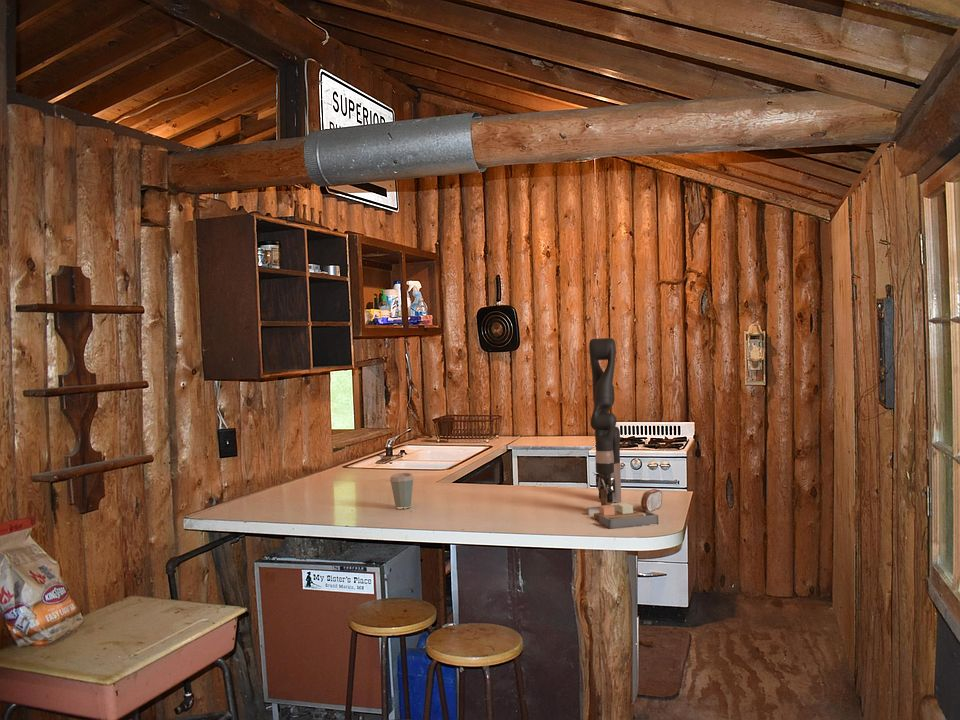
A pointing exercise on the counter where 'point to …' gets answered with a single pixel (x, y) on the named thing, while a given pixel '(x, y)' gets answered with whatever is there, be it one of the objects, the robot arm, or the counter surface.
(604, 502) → the cube on grey rod
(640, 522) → the box
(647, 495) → the tin
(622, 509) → the cream block
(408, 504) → the disposable coffee cup
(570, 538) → the counter surface
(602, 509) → the salmon pink cube
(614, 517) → the walnut board
